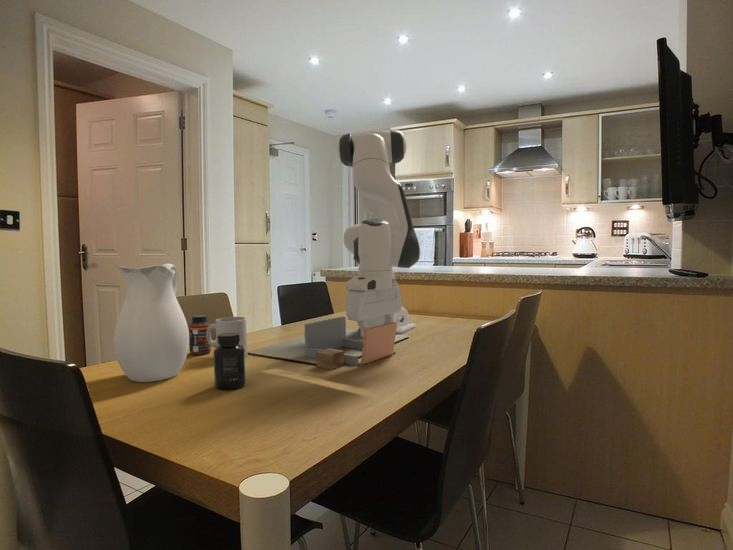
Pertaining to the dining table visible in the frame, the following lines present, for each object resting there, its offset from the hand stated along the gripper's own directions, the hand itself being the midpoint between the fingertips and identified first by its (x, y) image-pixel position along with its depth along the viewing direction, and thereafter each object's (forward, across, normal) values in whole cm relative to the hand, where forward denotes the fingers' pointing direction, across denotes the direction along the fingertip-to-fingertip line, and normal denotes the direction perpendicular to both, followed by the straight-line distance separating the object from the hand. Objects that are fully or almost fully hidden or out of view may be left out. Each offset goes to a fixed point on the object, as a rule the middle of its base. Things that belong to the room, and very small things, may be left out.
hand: (376, 333), depth 126 cm
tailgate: (+7, 0, 0) cm, 7 cm away
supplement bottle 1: (+8, +20, -51) cm, 55 cm away
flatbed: (+8, 0, -10) cm, 13 cm away
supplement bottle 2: (+8, +35, -16) cm, 39 cm away
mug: (+8, +18, -41) cm, 45 cm away
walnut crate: (+8, +12, -6) cm, 15 cm away
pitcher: (+8, +38, -40) cm, 56 cm away
